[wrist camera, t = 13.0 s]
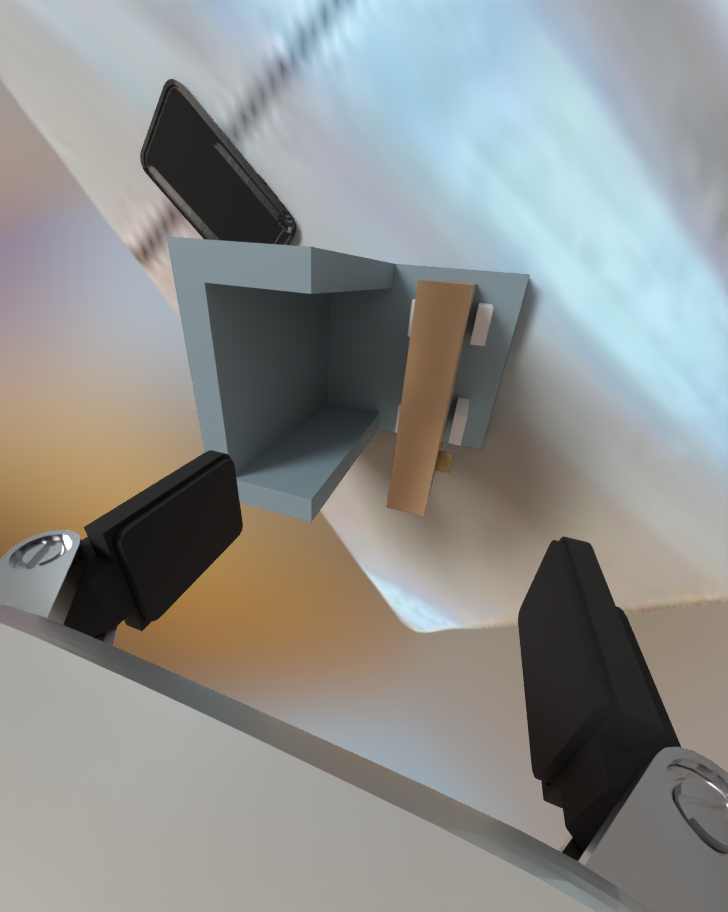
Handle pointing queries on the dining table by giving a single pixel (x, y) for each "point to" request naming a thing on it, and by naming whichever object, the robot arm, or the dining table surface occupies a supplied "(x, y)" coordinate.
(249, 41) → the dining table surface
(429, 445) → the door
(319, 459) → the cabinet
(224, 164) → the phone
